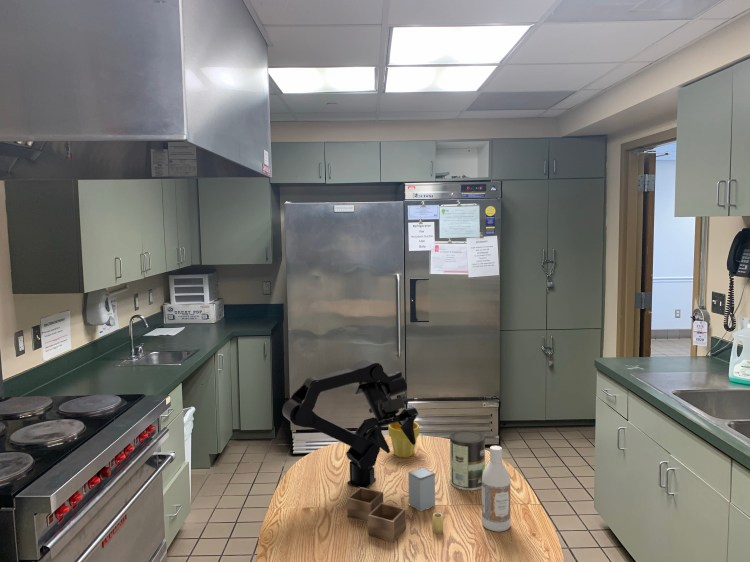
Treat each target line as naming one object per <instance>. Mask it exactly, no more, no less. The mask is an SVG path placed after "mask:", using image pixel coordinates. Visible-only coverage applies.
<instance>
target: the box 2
mask: <svg viewBox="0 0 750 562" xmlns="http://www.w3.org/2000/svg"><path fill="white" fill-rule="evenodd" d="M406 528H407V509H406V508H404V507H400V506H396V505H392V504H388V503H380V504H379V505H378V506H377V507H376V508H375V509H374V510H373V511H372V512H371V513H369V514H368V522H367V535H368V536H370V537H374V538H377V539H381V540H385V541H388V542H390V543H395V542H396V540H397V539H398V538H399V537H400V536H401V535H402V534H403V532H404V531H405V530H406Z"/></svg>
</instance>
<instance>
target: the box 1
mask: <svg viewBox="0 0 750 562" xmlns="http://www.w3.org/2000/svg"><path fill="white" fill-rule="evenodd" d="M384 502H385V501H384V492H383V491H378V490H375V489H370V488H368V487H367V488H363V487H358V489H356V490H355V491H354V492H353V493H351V494H350V495H349V496H348V497H347V498H346V507H347V508H346V510H347V512H346V513H347V515H346V516H347V518H352V519H354V520H357V521H358V520H359V521H363V522H366V523H368V514H369V513H371V512H372V511H373V510H374V509H375V508H376V507H377V506H378V505H379V504H380V503H384Z"/></svg>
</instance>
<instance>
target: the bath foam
mask: <svg viewBox="0 0 750 562" xmlns="http://www.w3.org/2000/svg"><path fill="white" fill-rule="evenodd" d="M481 523H482V526H483V527H484V528H485V529H487V530H489V531H492V532H497V533H498V532H504V531H508V530H509V528H510V527H511V476H510V473H509V471H508V469H507V467H506V465H505V464H504V462H503V448H502V447H501V446H500V445H491V446H490V447H489V462H488V463H487V465H485V469H484V472H483V475H482V488H481Z"/></svg>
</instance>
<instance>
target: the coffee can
mask: <svg viewBox="0 0 750 562" xmlns="http://www.w3.org/2000/svg"><path fill="white" fill-rule="evenodd" d="M485 443H486V436H485V435H484V434H483V433H482V432H479V431H475V430H469V429H468V430H467V429H465V430H464V429H462V430H456V431H453V432H451V433H450V434H449V462H450V463H449V465H450V468H449V469H450V471H449V472H450V481H449V483H450V485H451V484H452V485H453V486H452V485H451V486H452V487H454V488H455V489H458V490H461V489H462V490H461V491H477V490H482V475H483V472H484V469H485V468H486V465H485V464H486V463H485V462H486V461H485V460H486V456H485V455H486V451H485V450H486V448H485V447H486V446H485V445H486V444H485Z"/></svg>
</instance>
